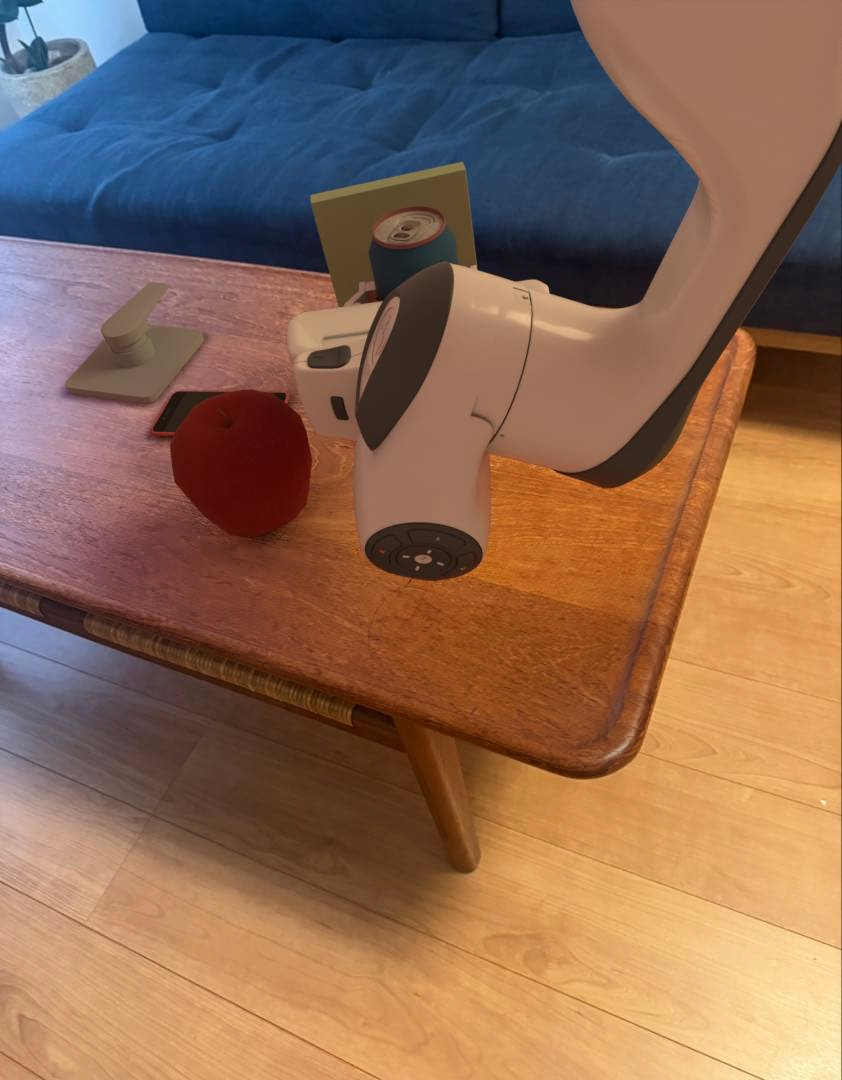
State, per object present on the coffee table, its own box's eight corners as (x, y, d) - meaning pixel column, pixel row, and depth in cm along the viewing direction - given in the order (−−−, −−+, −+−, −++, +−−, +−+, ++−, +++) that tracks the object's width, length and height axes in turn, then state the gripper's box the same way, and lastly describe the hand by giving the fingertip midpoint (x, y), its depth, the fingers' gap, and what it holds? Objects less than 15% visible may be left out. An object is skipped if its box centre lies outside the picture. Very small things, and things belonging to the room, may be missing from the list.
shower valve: (202, 284, 95) (131, 365, 86) (218, 324, 99) (152, 404, 90) (116, 278, 99) (41, 354, 90) (135, 316, 103) (65, 393, 95)
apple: (253, 587, 71) (198, 480, 61) (183, 524, 77) (122, 418, 67) (356, 506, 75) (320, 394, 65) (281, 453, 82) (238, 344, 72)
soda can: (413, 324, 75) (389, 198, 66) (482, 335, 72) (468, 205, 63) (377, 370, 71) (347, 243, 62) (449, 384, 68) (428, 253, 59)
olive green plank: (484, 345, 88) (462, 161, 73) (487, 354, 87) (465, 169, 72) (357, 372, 88) (309, 194, 73) (358, 381, 87) (310, 203, 72)
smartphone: (270, 436, 83) (147, 433, 86) (271, 440, 83) (149, 437, 87) (290, 391, 87) (173, 389, 90) (292, 395, 87) (175, 393, 91)
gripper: (566, 330, 55) (543, 226, 64) (270, 370, 57) (289, 264, 66) (568, 403, 59) (547, 296, 68) (294, 438, 62) (309, 330, 71)
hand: (418, 281), depth 67 cm, fingers closed on soda can, 7 cm apart
